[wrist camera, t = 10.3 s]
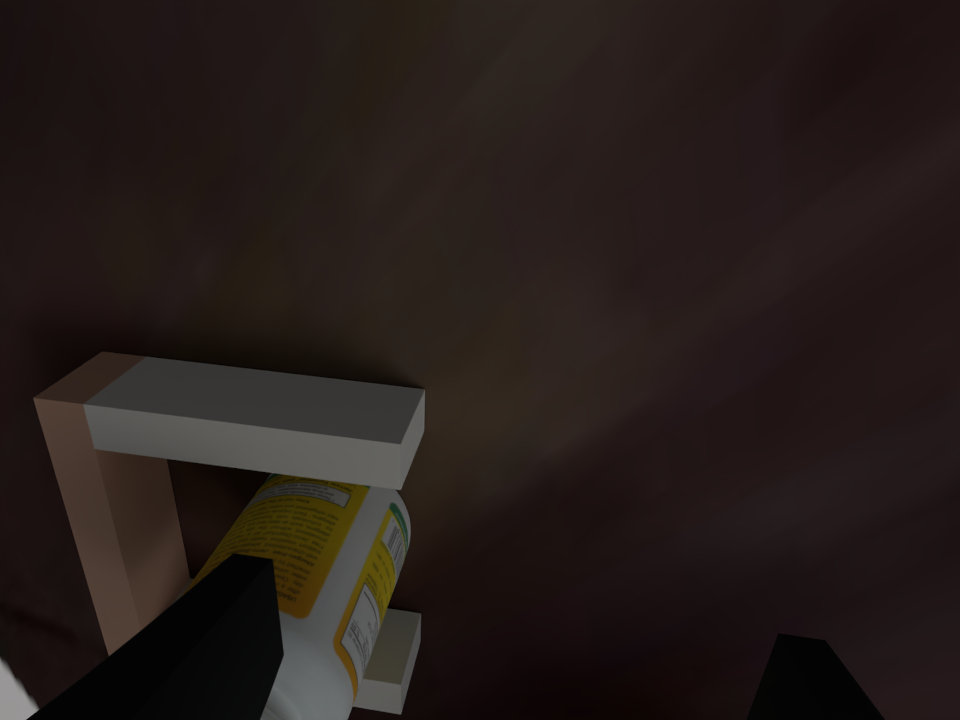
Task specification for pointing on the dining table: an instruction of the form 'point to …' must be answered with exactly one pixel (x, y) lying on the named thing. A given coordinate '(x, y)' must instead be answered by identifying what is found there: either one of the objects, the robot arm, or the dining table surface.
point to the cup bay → (223, 442)
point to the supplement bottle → (322, 583)
